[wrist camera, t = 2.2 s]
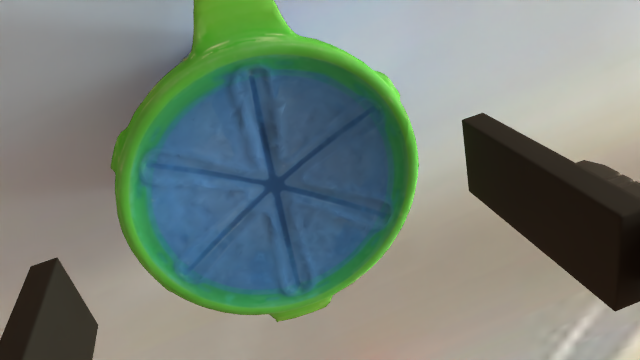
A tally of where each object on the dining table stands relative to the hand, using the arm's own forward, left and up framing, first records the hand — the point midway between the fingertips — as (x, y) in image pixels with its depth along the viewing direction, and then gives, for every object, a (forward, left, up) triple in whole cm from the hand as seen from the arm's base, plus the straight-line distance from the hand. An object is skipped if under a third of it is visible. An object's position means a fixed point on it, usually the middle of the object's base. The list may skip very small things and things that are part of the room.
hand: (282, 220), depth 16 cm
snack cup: (0, 0, -12) cm, 12 cm away
